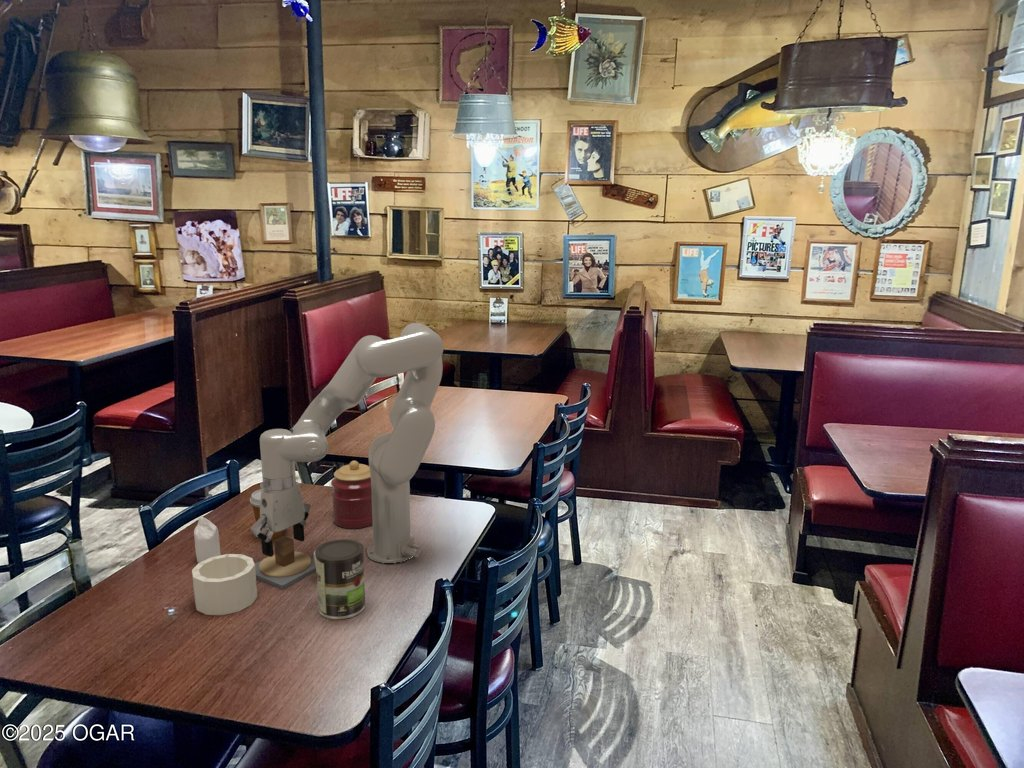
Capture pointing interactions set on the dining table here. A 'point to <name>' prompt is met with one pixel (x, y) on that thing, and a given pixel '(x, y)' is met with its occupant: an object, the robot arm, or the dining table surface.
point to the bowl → (224, 584)
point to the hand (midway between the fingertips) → (283, 547)
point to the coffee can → (340, 579)
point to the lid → (284, 560)
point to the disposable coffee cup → (256, 508)
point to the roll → (206, 540)
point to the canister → (352, 496)
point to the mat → (284, 581)
